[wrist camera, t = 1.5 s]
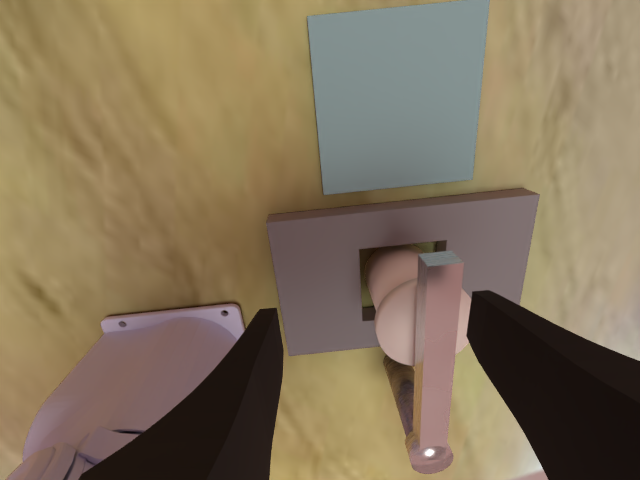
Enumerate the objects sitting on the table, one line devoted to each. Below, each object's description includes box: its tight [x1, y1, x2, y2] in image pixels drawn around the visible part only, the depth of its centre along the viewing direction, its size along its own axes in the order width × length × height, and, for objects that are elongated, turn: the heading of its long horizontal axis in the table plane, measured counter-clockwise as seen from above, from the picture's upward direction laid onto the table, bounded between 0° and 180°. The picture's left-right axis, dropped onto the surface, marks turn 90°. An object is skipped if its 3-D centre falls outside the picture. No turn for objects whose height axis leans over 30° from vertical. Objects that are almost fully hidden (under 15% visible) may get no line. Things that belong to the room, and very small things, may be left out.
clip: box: [405, 251, 464, 474], centre depth 16 cm, size 14×2×1 cm, turn 5°
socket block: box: [266, 188, 540, 356], centre depth 21 cm, size 16×10×2 cm, turn 95°
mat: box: [307, 0, 490, 195], centre depth 18 cm, size 9×9×1 cm
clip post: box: [384, 355, 415, 437], centre depth 22 cm, size 2×2×6 cm
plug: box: [364, 244, 471, 366], centre depth 19 cm, size 5×5×6 cm
